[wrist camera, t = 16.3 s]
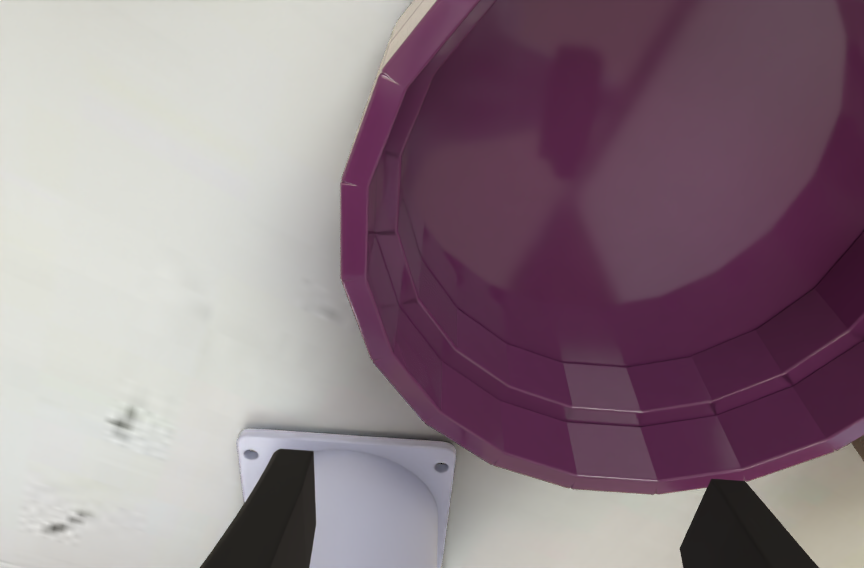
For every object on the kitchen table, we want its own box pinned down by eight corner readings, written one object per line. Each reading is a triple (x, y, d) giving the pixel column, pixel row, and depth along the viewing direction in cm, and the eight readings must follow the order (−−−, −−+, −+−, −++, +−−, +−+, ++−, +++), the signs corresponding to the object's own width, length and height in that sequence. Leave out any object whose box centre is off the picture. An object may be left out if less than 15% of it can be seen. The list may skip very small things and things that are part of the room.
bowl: (801, 390, 23) (880, 511, 19) (361, 359, 23) (340, 474, 18) (1062, -127, 15) (1307, -118, 10) (371, -188, 14) (338, -204, 10)
